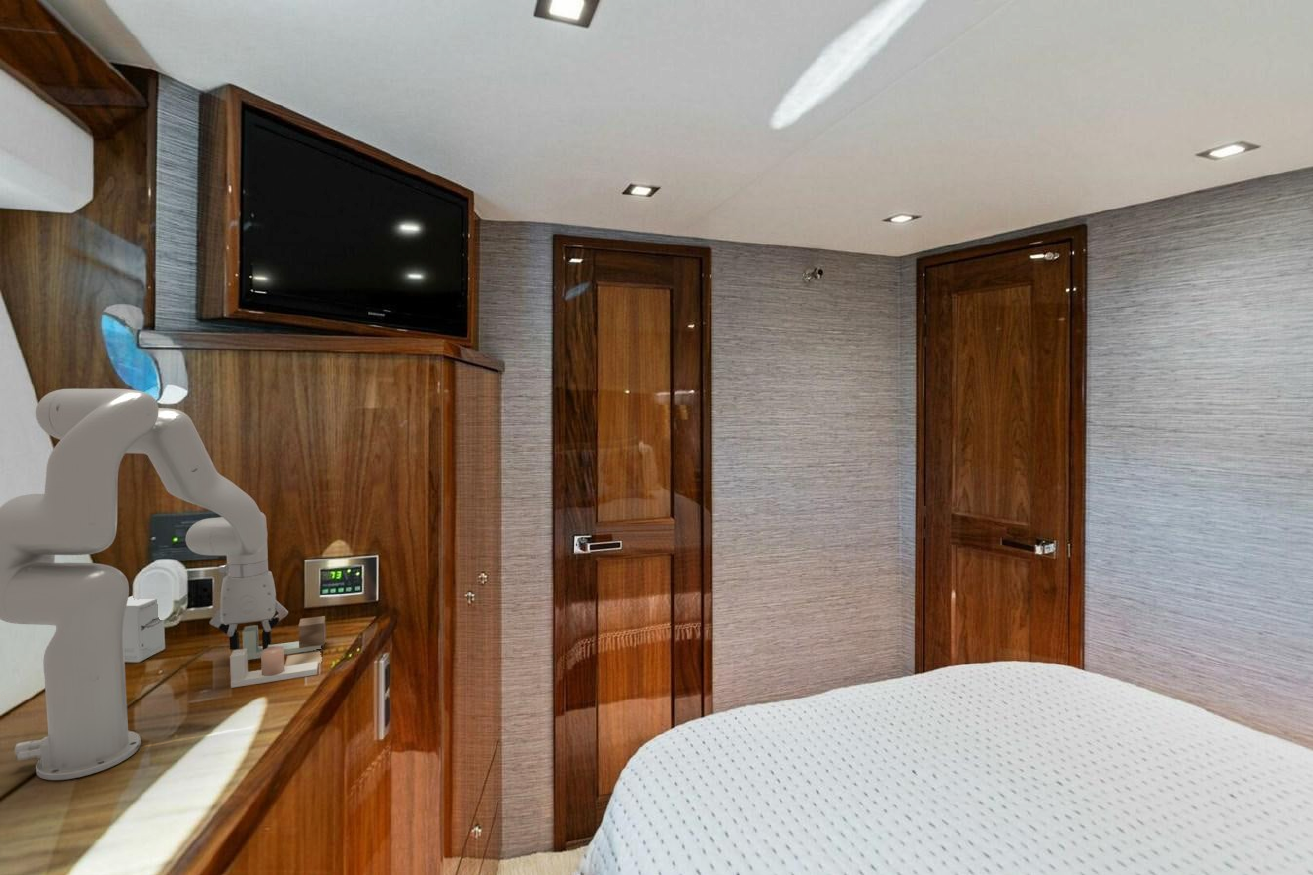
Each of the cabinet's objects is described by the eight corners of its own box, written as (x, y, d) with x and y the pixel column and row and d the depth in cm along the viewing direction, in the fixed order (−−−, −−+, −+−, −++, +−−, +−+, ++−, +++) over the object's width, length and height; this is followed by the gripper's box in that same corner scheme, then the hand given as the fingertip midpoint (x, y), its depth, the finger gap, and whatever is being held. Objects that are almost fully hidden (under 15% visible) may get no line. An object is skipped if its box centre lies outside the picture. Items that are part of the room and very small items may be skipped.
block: (299, 648, 143) (298, 626, 142) (301, 640, 147) (300, 618, 147) (324, 644, 145) (323, 623, 144) (325, 636, 149) (325, 615, 149)
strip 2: (230, 687, 126) (229, 657, 126) (234, 679, 130) (233, 649, 129) (316, 674, 132) (316, 645, 132) (318, 666, 136) (317, 638, 135)
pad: (283, 669, 135) (283, 668, 135) (287, 657, 141) (287, 655, 141) (321, 664, 137) (321, 662, 137) (323, 651, 144) (323, 650, 144)
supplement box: (140, 663, 138) (137, 605, 137) (106, 662, 138) (103, 605, 138) (166, 649, 146) (164, 594, 145) (134, 648, 146) (132, 594, 145)
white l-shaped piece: (243, 660, 139) (242, 632, 138) (246, 653, 142) (245, 626, 142) (321, 649, 145) (320, 622, 145) (322, 643, 149) (321, 617, 148)
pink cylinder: (260, 677, 128) (259, 655, 128) (263, 669, 132) (262, 648, 131) (283, 673, 130) (282, 652, 129) (285, 666, 133) (284, 645, 133)
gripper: (196, 577, 133) (200, 662, 134) (290, 568, 140) (293, 650, 141) (205, 568, 140) (208, 649, 141) (294, 560, 147) (296, 637, 148)
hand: (251, 648), depth 141 cm, fingers open, 4 cm apart
